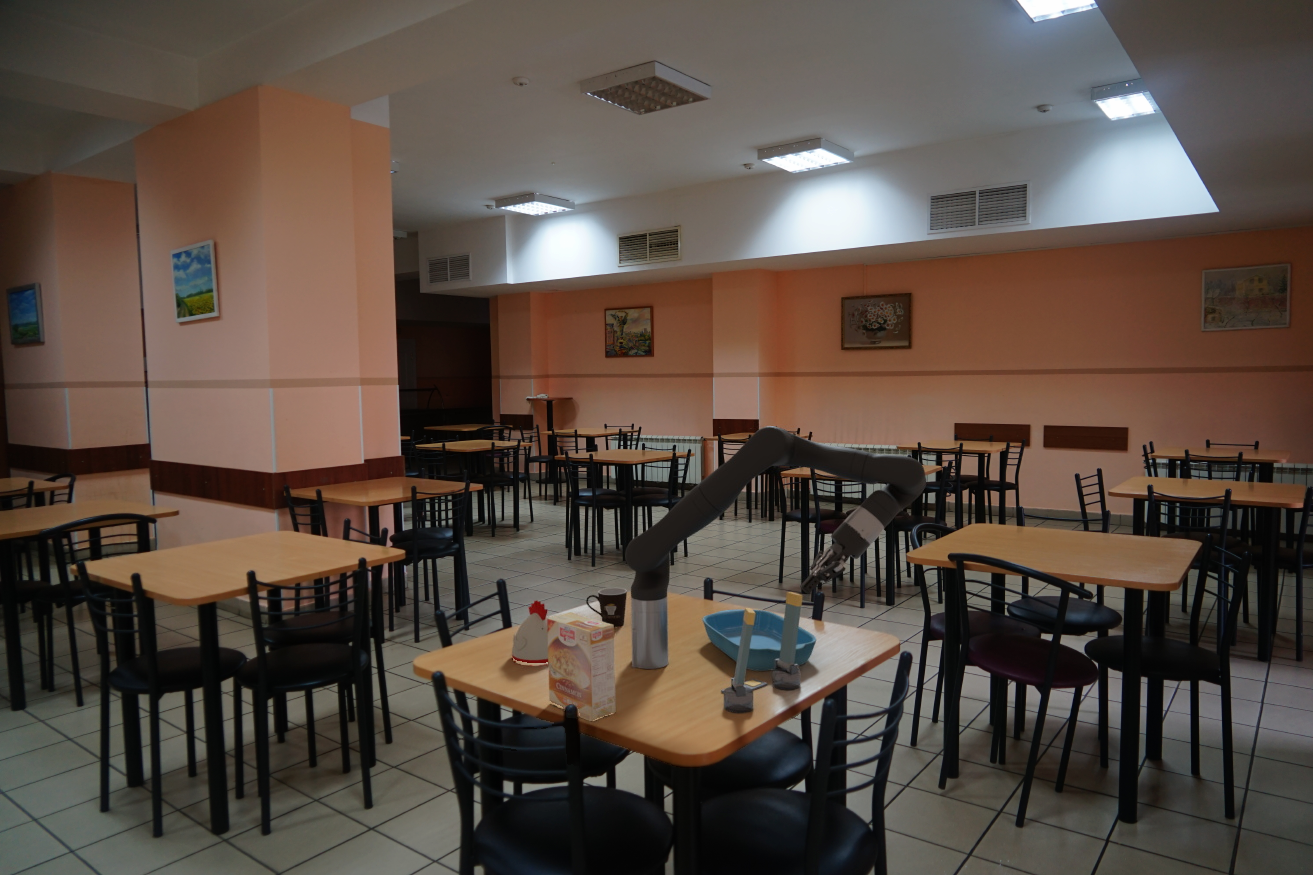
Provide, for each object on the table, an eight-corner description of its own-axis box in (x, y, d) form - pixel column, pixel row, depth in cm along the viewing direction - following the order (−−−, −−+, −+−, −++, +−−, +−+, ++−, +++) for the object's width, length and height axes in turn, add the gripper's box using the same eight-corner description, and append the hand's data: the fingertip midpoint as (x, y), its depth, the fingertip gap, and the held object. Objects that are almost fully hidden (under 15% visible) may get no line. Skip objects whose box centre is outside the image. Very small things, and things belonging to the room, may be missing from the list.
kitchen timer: (529, 670, 199) (527, 611, 198) (502, 656, 209) (500, 600, 209) (575, 657, 208) (574, 601, 207) (547, 645, 218) (546, 591, 218)
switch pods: (740, 715, 168) (740, 689, 167) (717, 707, 172) (717, 682, 172) (806, 684, 185) (805, 661, 184) (783, 678, 189) (783, 655, 189)
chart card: (734, 697, 178) (734, 694, 178) (720, 691, 181) (720, 689, 181) (767, 684, 185) (767, 682, 185) (753, 679, 189) (753, 677, 189)
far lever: (783, 666, 187) (792, 591, 187) (794, 671, 183) (803, 595, 184) (776, 666, 186) (785, 591, 186) (788, 671, 182) (797, 595, 183)
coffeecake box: (548, 704, 176) (545, 617, 175) (573, 695, 181) (571, 611, 180) (591, 723, 165) (589, 630, 164) (617, 713, 170) (615, 623, 169)
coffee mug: (633, 622, 239) (632, 589, 238) (616, 629, 232) (616, 596, 231) (601, 617, 245) (601, 585, 245) (584, 624, 238) (584, 591, 237)
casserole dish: (831, 669, 196) (831, 640, 195) (750, 681, 188) (749, 652, 188) (762, 629, 230) (762, 604, 230) (691, 638, 223) (691, 613, 222)
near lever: (740, 687, 174) (752, 608, 174) (743, 693, 170) (756, 613, 170) (731, 686, 174) (743, 607, 173) (734, 692, 170) (747, 612, 169)
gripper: (835, 516, 179) (783, 572, 179) (856, 525, 166) (800, 586, 166) (858, 538, 180) (807, 594, 179) (881, 549, 167) (825, 610, 166)
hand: (803, 590), depth 172 cm, fingers closed
